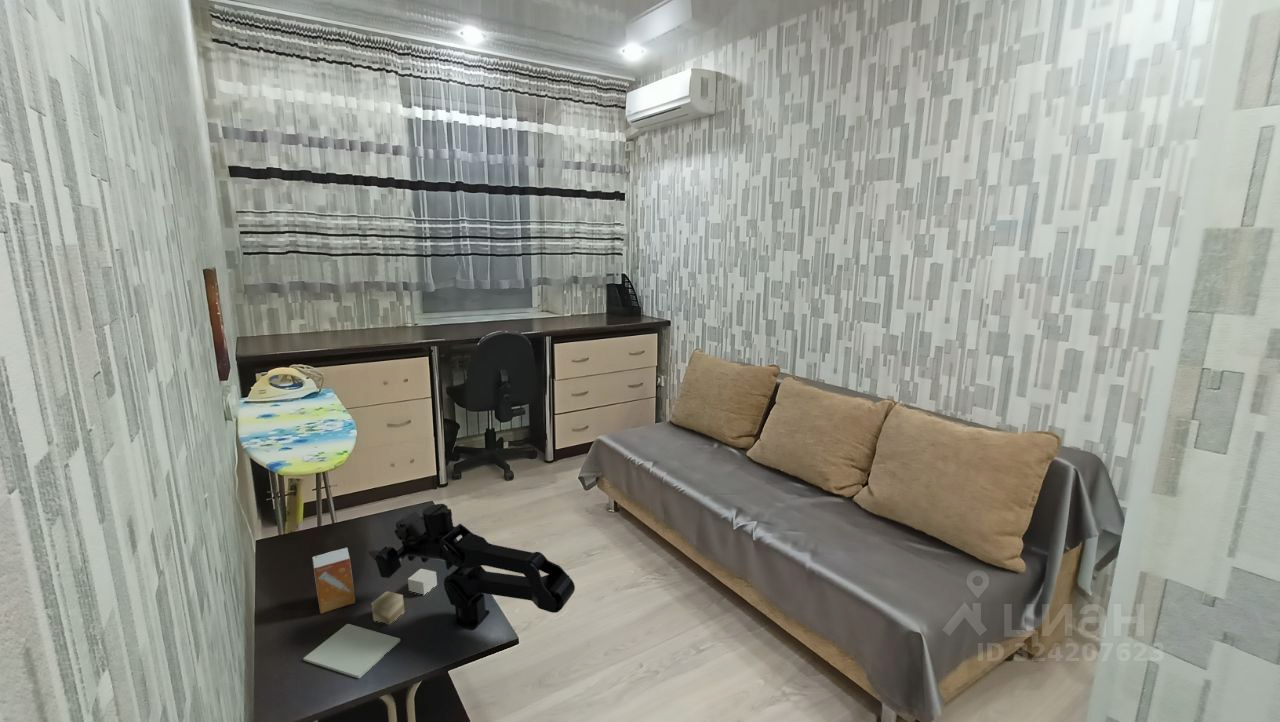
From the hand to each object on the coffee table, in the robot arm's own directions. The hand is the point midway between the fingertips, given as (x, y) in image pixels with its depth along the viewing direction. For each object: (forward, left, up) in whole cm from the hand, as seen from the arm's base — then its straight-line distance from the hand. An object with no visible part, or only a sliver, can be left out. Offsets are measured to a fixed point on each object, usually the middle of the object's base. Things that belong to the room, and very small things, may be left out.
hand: (382, 541), depth 141 cm
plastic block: (-5, -6, -17) cm, 18 cm away
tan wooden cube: (-5, +6, -16) cm, 18 cm away
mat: (-6, +18, -16) cm, 25 cm away
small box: (+12, +6, -17) cm, 21 cm away
